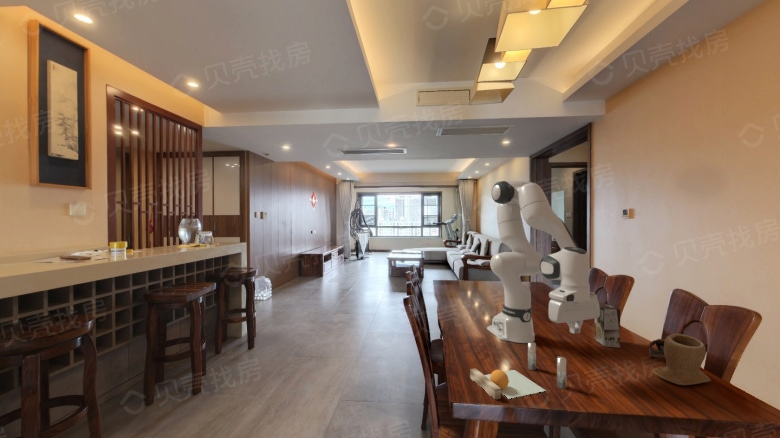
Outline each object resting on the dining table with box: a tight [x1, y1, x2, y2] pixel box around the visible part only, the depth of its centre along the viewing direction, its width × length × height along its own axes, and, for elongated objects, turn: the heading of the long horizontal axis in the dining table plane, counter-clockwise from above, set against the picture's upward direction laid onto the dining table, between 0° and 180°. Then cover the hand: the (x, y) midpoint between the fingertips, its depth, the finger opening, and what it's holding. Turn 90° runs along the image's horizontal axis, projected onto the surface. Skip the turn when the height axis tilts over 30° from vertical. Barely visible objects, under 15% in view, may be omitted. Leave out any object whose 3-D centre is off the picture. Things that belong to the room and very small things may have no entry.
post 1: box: [527, 341, 537, 371], centre depth 109 cm, size 3×3×9 cm
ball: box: [490, 369, 509, 390], centre depth 95 cm, size 6×6×6 cm
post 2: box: [556, 356, 567, 390], centre depth 97 cm, size 3×3×9 cm
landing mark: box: [483, 369, 547, 400], centre depth 98 cm, size 14×14×1 cm
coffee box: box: [594, 303, 621, 349], centre depth 132 cm, size 9×6×16 cm
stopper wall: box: [469, 368, 502, 400], centre depth 96 cm, size 13×2×3 cm, turn 18°
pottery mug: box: [648, 338, 666, 359], centre depth 118 cm, size 12×10×8 cm
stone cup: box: [652, 333, 712, 386], centre depth 100 cm, size 15×12×15 cm
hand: (574, 332), depth 107 cm, fingers closed
